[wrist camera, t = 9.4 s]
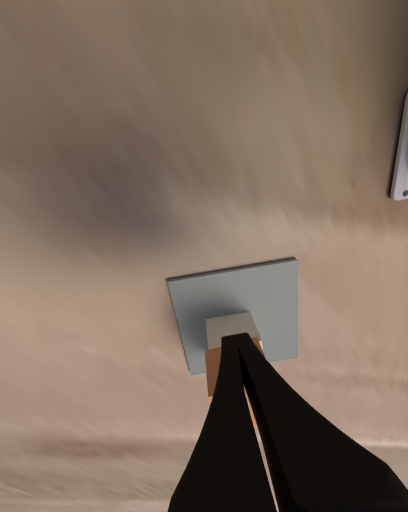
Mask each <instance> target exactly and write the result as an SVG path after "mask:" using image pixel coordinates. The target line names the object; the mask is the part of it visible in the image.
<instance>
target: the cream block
mask: <svg viewBox="0 0 408 512" xmlns="http://www.w3.org/2000/svg"><path fill="white" fill-rule="evenodd" d="M205 321H206V331H207V341H208V350H211V349H214V348H218V347H221V338H222V337H223V336H228V335H234V334H240V333H245V332H247V333H248V334H249V335H250V337H251V338H254V337H258V340H259V343H260V345H261V348H262V350H263V347H262V339H261V337H260V334H259V332H258V330H257V327H256V325H255V322H254V320H253V317H252V315H251V312H244V313H238V314H232V315H226V316H220V317H214V318H208V319H205Z"/></svg>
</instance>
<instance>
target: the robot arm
mask: <svg viewBox="0 0 408 512" xmlns="http://www.w3.org/2000/svg"><path fill="white" fill-rule="evenodd" d="M404 191H405V193H404V194H403V192H404ZM390 197H391V199H393V200H403V199H408V92H407V95H406V99H405V105H404V112H403V118H402V124H401V131H400V137H399V143H398V150H397V156H396V162H395V169H394V175H393V181H392V188H391V194H390ZM244 387H245V389H244ZM245 390H246V393H247V396H248V399H249V402H250V405H251V408H252V411H253V415H254V418H255V421H256V424H257V427H258V430H259V433H260V436H261V440H262V443H263V447H264V451H265V455H266V459H267V463H268V468H269V472H270V476H271V480H272V484H273V488H274V492H275V496H276V501H277V505H278V509H279V512H408V489H407V488H406V487H405V486H404V484H403V483H402V482H401V480H400V479H399V478H398V477H397V475H396V474H395V473H394V472H393V471H392V469H391V468H390V467H389V466H388V465H387V463H385V462H384V461H382V460H381V459H379V458H378V457H376V456H375V455H374V454H372V453H371V452H369V451H368V450H366V449H365V448H364V447H362V446H361V445H359V444H358V443H357V442H355V441H354V440H353V439H351V438H350V437H349V436H347V435H346V434H345V433H343V432H342V431H341V430H339V429H338V428H337V427H336V426H334V425H333V424H332V423H331V422H330V421H328V420H327V419H326V418H325V417H324V416H322V415H321V414H320V413H319V412H317V411H316V410H315V409H314V408H313V407H312V406H311V405H309V404H308V403H307V402H306V401H305V400H304V399H303V398H302V397H301V396H300V395H299V394H298V393H297V392H296V391H295V390H293V389H292V387H291V386H290V385H289V384H288V383H287V382H286V381H285V380H284V379H283V378H282V377H281V376H280V375H279V374H278V373H277V371H276V370H275V369H274V368H273V367H272V366H271V364H270V363H269V362H268V361H267V359H266V358H265V357H264V356H263V354H262V353H261V352H260V350H259V349H258V348H257V346H256V345H255V343H254V342H253V340H252V339H251V337H250V335H249V334H248V333H247V332H245V333H240V334H234V335H228V336H223V337H222V338H221V357H220V365H219V371H218V376H217V381H216V385H215V390H214V394H213V397H212V401H211V404H210V408H209V411H208V414H207V417H206V420H205V423H204V425H203V428H202V431H201V434H200V436H199V439H198V441H197V444H196V446H195V448H194V451H193V453H192V455H191V458H190V460H189V462H188V464H187V467H186V469H185V471H184V473H183V475H182V477H181V479H180V481H179V483H178V485H177V487H176V489H175V491H174V493H173V495H172V497H171V501H170V504H169V508H168V512H277V510H276V506H275V503H274V499H273V496H272V492H271V489H270V485H269V481H268V478H267V474H266V470H265V467H264V463H263V460H262V456H261V452H260V448H259V445H258V441H257V437H256V433H255V430H254V426H253V422H252V418H251V414H250V410H249V406H248V402H247V398H246V395H245Z"/></svg>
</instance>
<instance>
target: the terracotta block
mask: <svg viewBox="0 0 408 512" xmlns="http://www.w3.org/2000/svg"><path fill="white" fill-rule="evenodd" d="M251 339H252V340H253V342H254V343H255V345H256V346H257V348H258V349H259V350H260V352H261V353H262V354H263V356H264V357H265V355H264V353H263V350H262V348H261V345H260V343H259V340H258V337H254V338H251ZM220 357H221V347H218V348H214V349H211V350H207V351H205V362H206V374H207V386H208V397H209V400H210V402H211V401H212V397H213V394H214V390H215V385H216V381H217V376H218V371H219V365H220ZM244 389H245V387H244ZM245 395H246V398H247V402H248V406H249V410H250V414H251V418H252V422H253V426H254V429H255V428H258V427H257V424H256V421H255V418H254V415H253V411H252V408H251V405H250V402H249V399H248V396H247V393H246V390H245Z"/></svg>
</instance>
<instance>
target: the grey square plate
mask: <svg viewBox="0 0 408 512" xmlns="http://www.w3.org/2000/svg"><path fill="white" fill-rule="evenodd" d="M168 286H169V290H170V294H171V298H172V302H173V306H174V310H175V314H176V318H177V322H178V326H179V330H180V334H181V338H182V342H183V346H184V350H185V354H186V358H187V362H188V366H189V370H190V374H191V375H196V374H202V373H206V362H205V351H207V350H208V341H207V331H206V321H205V319H208V318H214V317H220V316H226V315H232V314H238V313H244V312H251V315H252V317H253V320H254V322H255V325H256V327H257V330H258V332H259V334H260V337H261V339H262V347H263V353H264V355H265V358H266V359H267V361H268V362H274V361H280V360H286V359H292V358H297V287H298V260H297V259H296V258H292V259H286V260H280V261H274V262H268V263H263V264H257V265H251V266H245V267H239V268H233V269H227V270H221V271H215V272H209V273H203V274H197V275H191V276H185V277H179V278H174V279H168Z"/></svg>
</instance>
